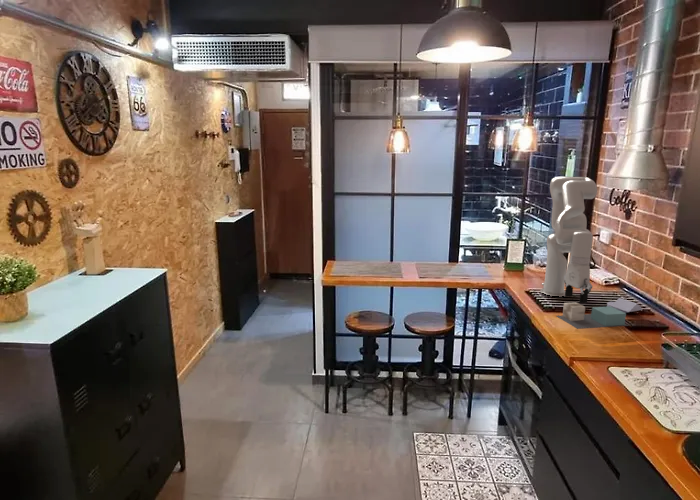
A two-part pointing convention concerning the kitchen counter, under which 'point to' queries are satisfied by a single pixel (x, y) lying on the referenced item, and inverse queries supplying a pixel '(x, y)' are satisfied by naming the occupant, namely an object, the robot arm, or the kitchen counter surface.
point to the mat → (586, 322)
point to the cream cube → (573, 311)
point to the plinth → (608, 316)
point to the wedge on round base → (624, 305)
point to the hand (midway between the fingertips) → (575, 299)
